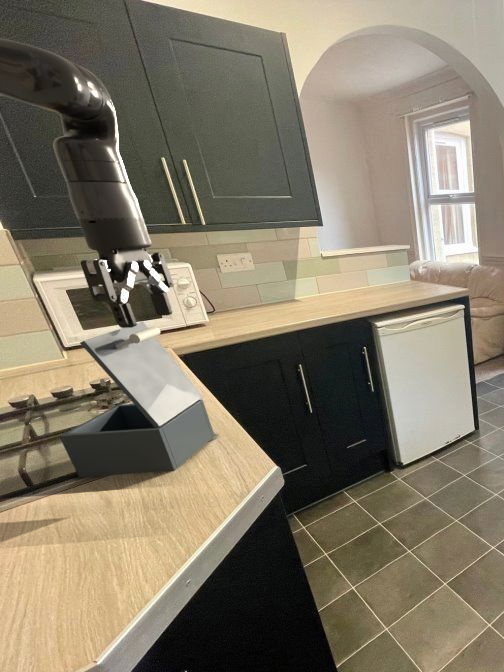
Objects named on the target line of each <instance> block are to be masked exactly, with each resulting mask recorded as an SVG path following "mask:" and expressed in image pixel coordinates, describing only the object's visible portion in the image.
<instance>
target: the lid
mask: <svg viewBox="0 0 504 672" xmlns="http://www.w3.org/2000/svg"><path fill="white" fill-rule="evenodd" d="M136 323H137V325H136V326H135V327H131V328H119V329H116V330H113V331H110V332H107V333H103V334H101V335H98V336H94V337H92V338H88V339H85V340H83V341H80V342H79V344H80V345H81V347H83V349H84V350H85V351H86V352H87V353H88V354H89V356H91V358H92V359H93V360H94V361H95V362H96V363H97V364H98V365H99V366H100V368H101V369H102V370H103V371H104V373H106V374H107V376H108V377H109V378H110V379H111V381H113V382H114V383H115V385H117V387H118V388H119V389H120V390H121V391H122V392H123V394H124V395H125V396H126V397H127V398H128V399H129V401H130V402H132V404H135V405H136V407H137V408H138V409H139V410H140V411H141V412H142V413H143V414H144V416H145V417H146V418H147V419H148V420H149V421H150V422H151V423H152V424H153V426H154V427H155V428H158V427H160V426H161V425H163V424H164V423H166V422H167V421H169V420H170V419H172V418H173V417H175V416H176V415H177V414H179V413H180V412H182V411H183V410H185V409H186V408H188V407H189V406H191V405H192V404H194V403H195V402H197V401H198V400H202V399H203V398H204V397H205V396H204V395H203V394H202V393H201V391H200V390H199V388H197V386H196V385H195V384H194V383H193V381H192V380H191V379H190V378H189V376H188V375H187V374H186V373H185V372H184V370H183V369H182V368H181V367H180V365H179V364H178V363H177V362H176V360H175V359H174V358H173V357H172V356H171V354H170V353H169V352H168V351H167V349H166V347H164V346H163V344H162V343H161V342H160V341H159V340H158V338H157V336H160V335H161V330H160V328H159V327H157V326H151V327H148V326H147V324H146V323H145V322H144V321H140V322H136Z"/></svg>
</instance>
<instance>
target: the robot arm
mask: <svg viewBox="0 0 504 672" xmlns="http://www.w3.org/2000/svg"><path fill="white" fill-rule="evenodd" d="M0 97H6V98H9V99H12V100H14V101H18V102H21V103H25V104H28V105H30V106H33V107H38V108H41V109H44V110H47V111H50V112H54V113H56V114H59V117H60V122H61V127H62V132H63V133H62V134H63V135H62V136H58V137H56V138H55V139H53V142H52V147H53V150H54V155H55V157H56V160H57V163H58V165H59V168H60V171H61V173H62V177H63V178H64V181H65V183H66V187H67V191H68V196H69V200H70V203H71V205H72V209H73V211H74V213H75V217H76V219H77V222H78V224H79V226H80V229H81V233H82V234H83V237H84V239H85V242H86V245H87V247H88V248H89V249H90V250H92V251H95V252H97V254H98V259H97V258H96V259H82V260H81V261H80V266H81V270H82V272H83V275H84V279H85V280H86V284H87V287H88V290H89V292H90V296H91V299H92V300H93V301H94V302H95V303H104V304H108V305H109V307H110V310H111V313H112V315H113V316H114V320H115V322H116V324H117V325H118V327H119V328H120V329H122V328H131V327H135V326H136V325H137V323H138V322H137V320H136V317H135V314H134V312H133V309H132V306H131V304H130V302H128V299H129V294H130V292H131V291H132V290H133V289H134V285H135V286H136V285H140V286H142V287H144V289H146V290H147V291H148V292H149V297H150V299H151V303H152V305H153V308H154V311H155V313H156V315H157V316H161V317H163V316H170V315H172V314H173V310H172V305H171V303H170V300H169V297H168V294H167V293H168V292H169V289H170V288H174V286H175V283H174V281H173V279H172V276H171V272H170V270H169V267H168V264H167V262H166V259H165V256H164V254H163V253H162V252H161V251H160V252H159V251H157V252H148V251H147V248H150V247H152V243H153V242H152V240H151V238H150V235H149V232H148V228H147V225H146V222H145V219H144V217H143V214H142V211H141V207H140V203H139V201H138V198H137V197H136V194H135V193H134V190H133V189H132V186H131V184H130V180H129V178H128V177H129V176H128V174H127V171H126V168H125V165H124V162H123V160H122V157H121V154H120V150H119V149H120V147H119V146H120V145H119V142H120V141H119V130H118V121H117V114H116V110H115V105H114V102H113V100H112V97H111V95H110V93H109V91H108V88H107V87H106V86H105V85H104V83H103V82H102V80H101V79H100V78H99V77H98V76H97V75H95V74H94V72H92V71H90V70H89V69H87V68H86V67H84V66H83V65H80V64H78V63H76V62H73V61H72V60H70V59H67V58H65V57H63V56H61V55H59V54H57V53H55V52H52V51H50V50H48V49H47V50H46V49H44V48H40V47H37V46H34V45H31V44H28V43H23V42H19V41H16V40H11V39H7V38H2V37H0ZM161 275H162V276H161ZM162 277H163V278H162ZM162 279H164V280H162ZM100 286H102V288H103V293H102V291H101V289H100ZM117 292H118V293H117ZM116 293H117V294H116Z"/></svg>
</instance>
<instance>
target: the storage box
mask: <svg viewBox="0 0 504 672" xmlns="http://www.w3.org/2000/svg"><path fill="white" fill-rule="evenodd" d="M208 414H209V413H208V412H207V409H206V406H205V402H204V400H203V399H200V400H198V401H197V402H195V403H194V404H192V405H191V406H189V407H188V408H186V409H185V410H183V411H182V412H180V413H179V414H177V415H176V416H175V417H173V418H172V419H170V420H169V421H167V422H166V423H164V424H163V425H161V426H160V427H158V428H155V427H154V426H153V424H152V423H151V422H150V421H149V420H148V419H147V418H146V417H145V416H144V414H143V413H142V412H141V411H140V410H139V409H138V408H137V407H136V405H135V404H134V403H124V404H123V403H122V404H117V405H115V406H113V407H111V408H109V409H107V410H105V411H103V412H102V413H99V414H98V415H96V416H94V417H92V418H90V419H89V420H87V421H85V422H83V423H81V424H79V425H78V426H75V427H73V428H72V429H70V430H68V431H66V432H64V433H63V434H61V435H59V440H60V441H61V443H62V445H63V448H64V450H65V451H66V453H67V455H68V457H69V460H70V461H71V463H72V466H73V468H74V470H75V472H76V474H77V477H78V478H93V477H106V476H122V475H135V474H150V473H163V472H175V471H177V470H178V469H179V468H180V467H181V466H182V465H183V464H184V463H186V462H187V461H188V460H189V459H190V458H191V457H192V456H193V455H195V454H196V453H197V452H198V451H199V450H200V449H202V448H203V447H204V446H205V445H206V444H208V442H210V441H211V440H212V439H213V438H214V437H215V436H216V435H215V433H214V429H213V426H212V423H211V420H210V417H209V415H208Z"/></svg>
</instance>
